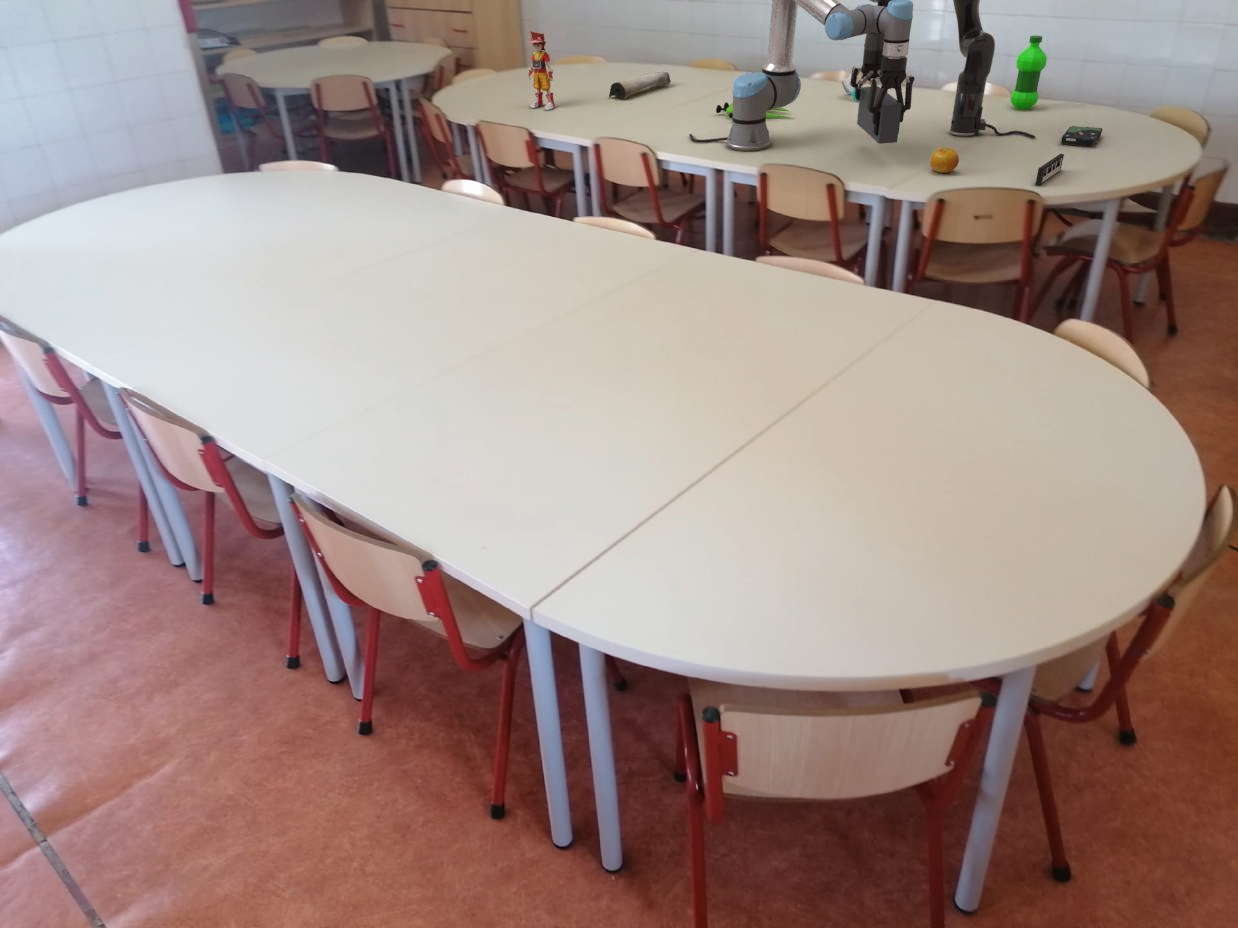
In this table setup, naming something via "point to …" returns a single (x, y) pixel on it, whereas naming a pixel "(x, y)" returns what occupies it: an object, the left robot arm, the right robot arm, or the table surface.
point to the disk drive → (1081, 136)
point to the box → (888, 117)
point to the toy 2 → (730, 111)
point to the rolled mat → (638, 84)
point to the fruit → (944, 160)
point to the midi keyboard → (1049, 169)
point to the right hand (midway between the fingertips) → (870, 99)
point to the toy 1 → (541, 71)
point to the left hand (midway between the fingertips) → (885, 133)
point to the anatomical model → (849, 86)
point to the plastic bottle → (1028, 75)
